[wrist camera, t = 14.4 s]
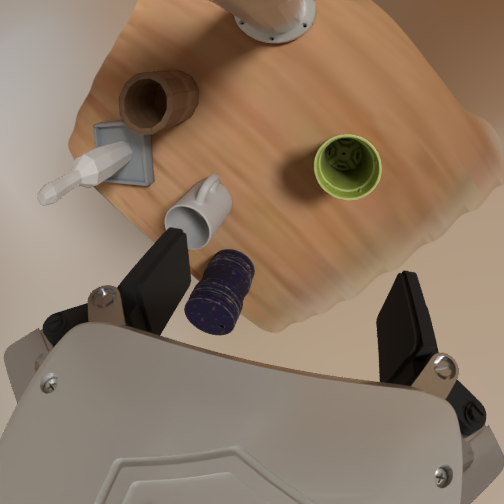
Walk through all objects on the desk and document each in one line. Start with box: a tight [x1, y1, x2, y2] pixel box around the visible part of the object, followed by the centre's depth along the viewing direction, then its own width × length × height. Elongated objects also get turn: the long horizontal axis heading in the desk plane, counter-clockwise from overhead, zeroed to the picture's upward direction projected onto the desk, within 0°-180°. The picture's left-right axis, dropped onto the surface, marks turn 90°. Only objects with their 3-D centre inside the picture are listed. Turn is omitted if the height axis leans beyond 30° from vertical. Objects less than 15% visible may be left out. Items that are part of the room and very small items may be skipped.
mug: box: [164, 174, 232, 250], centre depth 47 cm, size 12×8×11 cm
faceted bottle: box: [37, 141, 132, 206], centre depth 41 cm, size 6×6×22 cm
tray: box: [93, 120, 154, 186], centre depth 49 cm, size 13×13×2 cm
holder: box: [119, 71, 199, 135], centre depth 39 cm, size 10×10×9 cm
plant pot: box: [314, 134, 382, 200], centre depth 38 cm, size 9×9×9 cm
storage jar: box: [184, 249, 255, 335], centre depth 55 cm, size 10×10×15 cm
